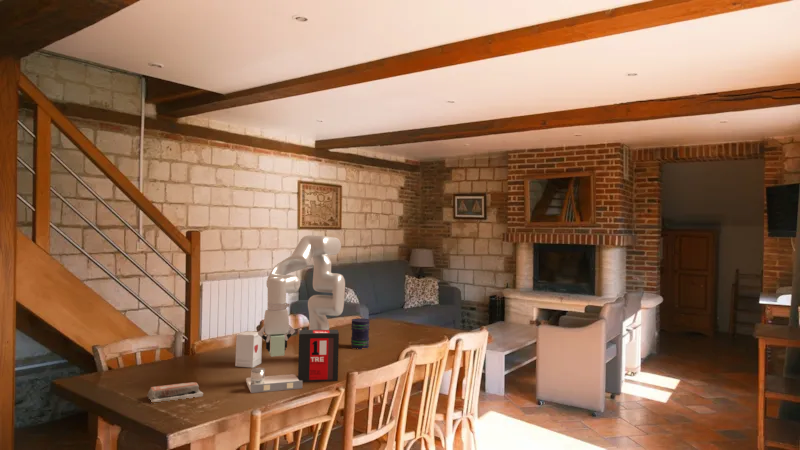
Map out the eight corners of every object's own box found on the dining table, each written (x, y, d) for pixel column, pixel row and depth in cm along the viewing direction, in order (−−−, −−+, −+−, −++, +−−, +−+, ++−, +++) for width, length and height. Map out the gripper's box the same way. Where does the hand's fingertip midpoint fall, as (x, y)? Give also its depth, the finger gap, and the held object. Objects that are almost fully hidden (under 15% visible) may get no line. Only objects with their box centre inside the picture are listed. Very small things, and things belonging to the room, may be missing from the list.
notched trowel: (151, 391, 190) (147, 384, 199) (151, 405, 190) (146, 397, 198) (204, 384, 200) (197, 378, 209) (203, 397, 200) (197, 390, 209)
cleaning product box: (297, 382, 222) (299, 334, 222) (298, 376, 230) (299, 330, 231) (337, 381, 224) (338, 333, 225) (336, 375, 233) (337, 329, 233)
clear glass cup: (263, 383, 214) (263, 367, 214) (265, 386, 209) (265, 370, 209) (249, 384, 212) (250, 368, 212) (251, 388, 207) (251, 371, 207)
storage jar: (372, 347, 291) (373, 319, 291) (361, 350, 283) (362, 322, 283) (358, 344, 296) (358, 317, 297) (347, 347, 288) (347, 320, 288)
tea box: (268, 352, 224) (268, 333, 223) (282, 351, 226) (282, 332, 226) (270, 356, 217) (270, 337, 217) (284, 355, 219) (285, 336, 219)
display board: (294, 377, 228) (294, 370, 228) (302, 388, 213) (302, 381, 213) (246, 381, 221) (246, 374, 221) (250, 393, 205) (251, 385, 205)
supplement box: (252, 368, 242) (253, 335, 242) (234, 366, 244) (235, 334, 244) (262, 363, 251) (262, 331, 251) (244, 362, 252) (245, 330, 253)
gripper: (295, 304, 228) (295, 346, 228) (254, 306, 221) (254, 349, 222) (299, 307, 221) (298, 350, 221) (256, 309, 214) (256, 354, 215)
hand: (276, 349), depth 222 cm, fingers closed on tea box, 5 cm apart
